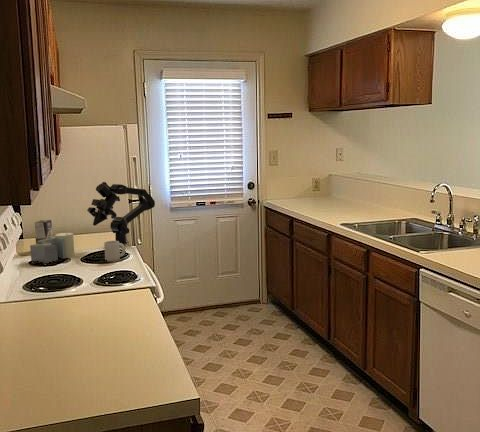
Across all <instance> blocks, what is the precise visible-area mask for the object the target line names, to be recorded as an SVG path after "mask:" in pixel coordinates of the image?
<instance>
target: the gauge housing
mask: <svg viewBox="0 0 480 432" xmlns="http://www.w3.org/2000/svg"><path fill="white" fill-rule="evenodd" d="M29 248H30V258H31V262H35V261H39V262H38V263H40V262H43V263H42V264H45V263H46V264H49V262H51V263H53V262H52V261H55V262H57V261H56V260H58V261H59V258H58V254H57V245H53V244H51V243H41V244H36V243H34V244H31V245H29Z"/></svg>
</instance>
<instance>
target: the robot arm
mask: <svg viewBox="0 0 480 432" xmlns="http://www.w3.org/2000/svg"><path fill="white" fill-rule="evenodd" d="M95 191H96V192H97V193H98V194H99V195H100V196H101V197H102V198H100V199H96V198H93V199H92V201H91V204H90V205H91V206H89V207H88V208H87V210H86V212H87V213H89V214H90V215H91V216H92V217H93V222H92V225H93V226H95V227H96V226H97V225H99V224H101V223H102V222H104V221H105V220H108V217H110V218H111V220H112V221H111V222H110V226H109V227H110V229H111V232H112V233H113V234H114V235H115V241H119V243H121V244H123V245H124V246H125V245H126V244H127V245H128V244H129V243H130V241H128V238H127V235H128V234H129V233H130V229H129V228H128V225H129V224H130V222H132V221H134V220H135V219H136V218H137V217H139V216H140V215H141V214H142V213H144V212H145V211H146V212H147V211H150V210H152V209H154V207H156V206H155V205H156V201H155V199H154V198H153V197H152V196H151V194H149V192H147V190H146V189H144V188H134V187H128V186H126V185H124V184H122V183H121V184H119V183H112V184H111V186H109V185H108V183H107V181H103V182H101V183H100V184H98V185H97V186H96V187H95ZM126 194H127V195H134V196H135V195H136V196H137V197H138V198H137V199H138V201H139V202H138V205H137V206H136V207H134V208H133V209H132V210H130V211H129V212H128V213H126V214H125V215H123V216H117V213H116V212H115V210H114V205H115V203H116V202H121V199H120V198H121V197H120V196H119V195H126ZM117 195H118V196H117ZM103 198H104V199H103ZM93 206H94V207H93Z"/></svg>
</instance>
